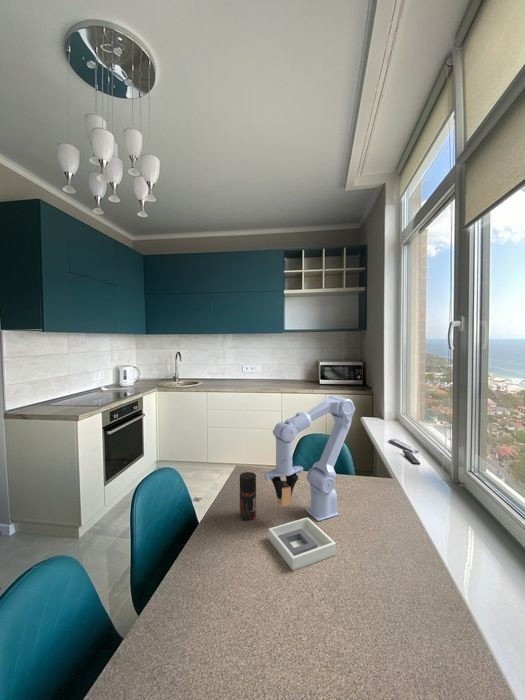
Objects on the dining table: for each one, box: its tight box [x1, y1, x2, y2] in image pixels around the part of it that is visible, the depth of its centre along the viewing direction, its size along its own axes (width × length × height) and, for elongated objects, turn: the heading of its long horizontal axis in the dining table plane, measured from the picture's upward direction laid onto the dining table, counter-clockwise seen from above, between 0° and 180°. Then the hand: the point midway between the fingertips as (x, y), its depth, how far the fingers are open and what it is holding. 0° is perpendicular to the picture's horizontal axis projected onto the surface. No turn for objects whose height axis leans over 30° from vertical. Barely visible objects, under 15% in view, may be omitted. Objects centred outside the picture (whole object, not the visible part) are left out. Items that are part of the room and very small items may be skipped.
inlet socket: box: [278, 528, 318, 556], centre depth 93 cm, size 9×9×2 cm
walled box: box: [268, 516, 337, 572], centre depth 93 cm, size 15×15×4 cm
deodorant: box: [239, 471, 257, 522], centre depth 110 cm, size 6×6×15 cm
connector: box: [276, 480, 292, 508], centre depth 105 cm, size 4×4×8 cm
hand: (284, 496), depth 105 cm, fingers closed on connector, 3 cm apart
